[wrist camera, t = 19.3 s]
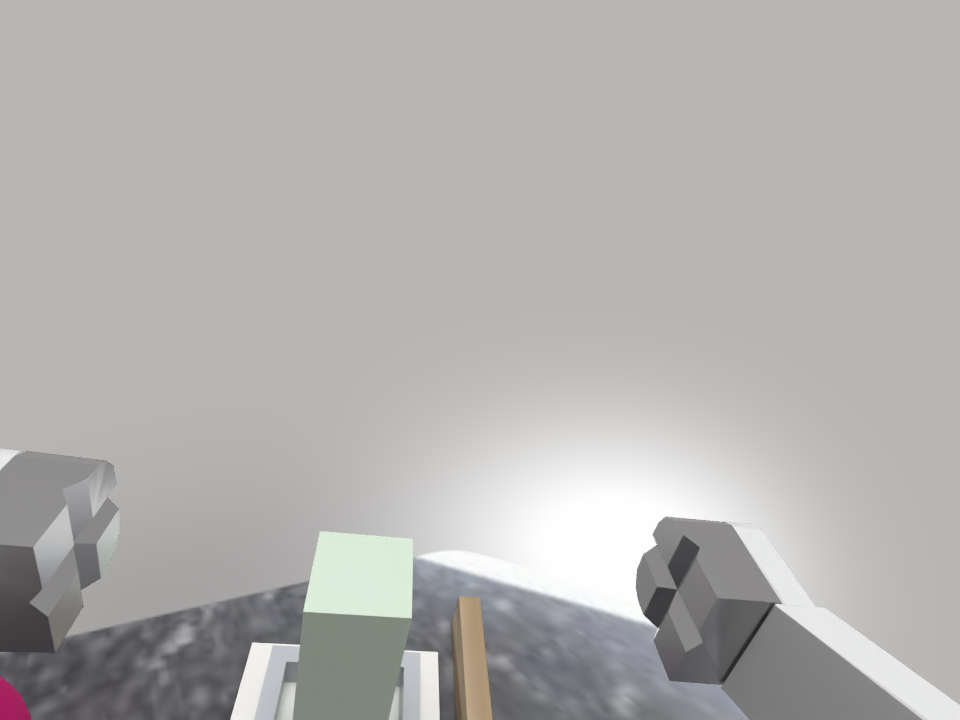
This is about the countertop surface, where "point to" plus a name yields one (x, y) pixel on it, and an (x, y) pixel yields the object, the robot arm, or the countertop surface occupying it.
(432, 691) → the grey keeper socket
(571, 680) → the countertop surface
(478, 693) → the oak board
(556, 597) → the countertop surface
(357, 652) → the sage bar
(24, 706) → the pepper mill
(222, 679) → the countertop surface
